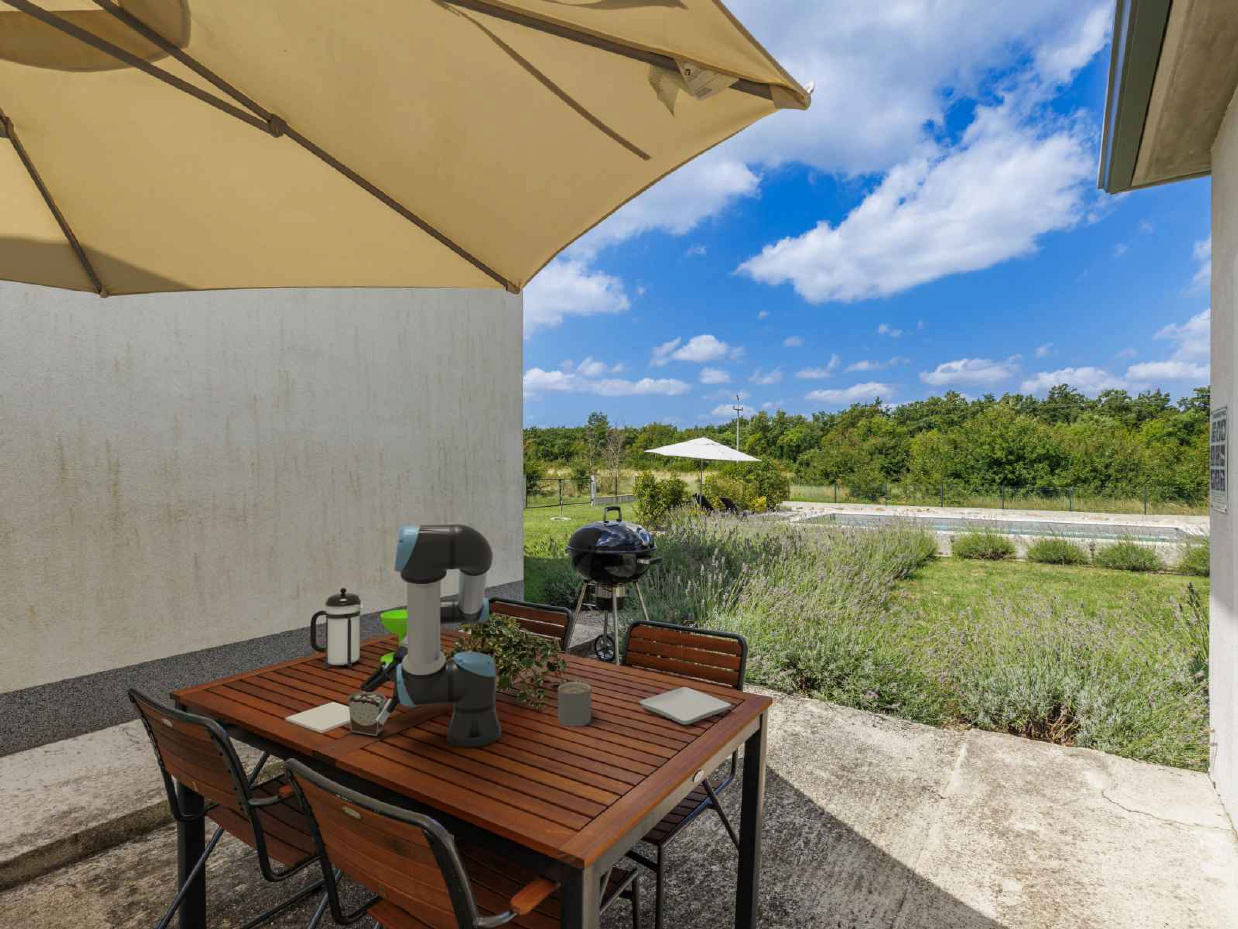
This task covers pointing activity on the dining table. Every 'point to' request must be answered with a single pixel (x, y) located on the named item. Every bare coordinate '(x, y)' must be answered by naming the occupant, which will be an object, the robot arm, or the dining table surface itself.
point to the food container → (366, 712)
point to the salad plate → (685, 705)
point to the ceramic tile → (322, 717)
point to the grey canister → (574, 704)
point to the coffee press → (340, 629)
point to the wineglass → (394, 627)
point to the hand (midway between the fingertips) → (366, 718)
